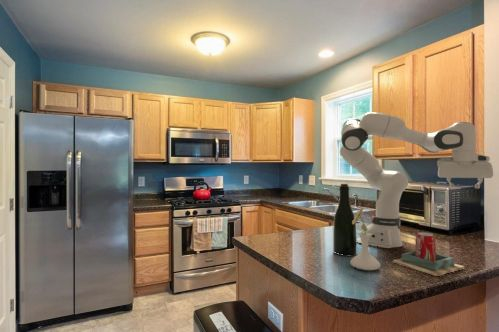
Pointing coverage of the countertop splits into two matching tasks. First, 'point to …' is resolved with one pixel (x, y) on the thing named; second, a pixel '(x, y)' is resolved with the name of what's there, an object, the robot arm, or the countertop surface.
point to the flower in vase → (364, 249)
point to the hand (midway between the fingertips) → (464, 187)
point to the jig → (429, 264)
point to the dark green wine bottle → (344, 225)
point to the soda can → (425, 246)
